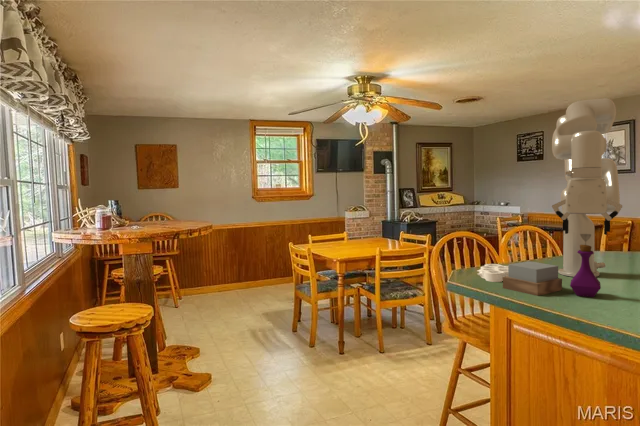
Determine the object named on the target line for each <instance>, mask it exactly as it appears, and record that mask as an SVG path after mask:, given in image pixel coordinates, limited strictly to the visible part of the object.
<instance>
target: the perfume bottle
mask: <svg viewBox="0 0 640 426" xmlns="http://www.w3.org/2000/svg"><path fill="white" fill-rule="evenodd" d="M580 235H581V237H582V239H583V240H584V241H585V245H580V250H578V253H579V254H580V255H581V257H582V263H581V267H580V269H579V271H578V272H577V274H576V275H575V276H574V277H572V279H571V280H570V284H569V286H570V288H571V289H572V291H573V293H575V295H576V296H577V297H586V298H594V297H595V296H596V295H597V293H599V291H600V290H601V289H602V287H601V285H602V284H601V282H600V280H599V279H598V278H597V277H595V275H594V274H593V272H592V271H591V268H590V264H589V258H590V256H591V255H592V254H594V255H595V251H594V252H593V251H591V248H592V247H591V246H589V245H586V241H587V240H588V239H589V238H590V237H591V234H580Z"/></svg>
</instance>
